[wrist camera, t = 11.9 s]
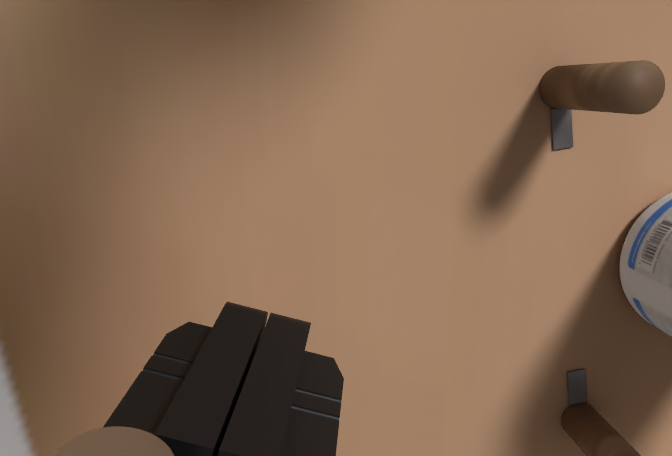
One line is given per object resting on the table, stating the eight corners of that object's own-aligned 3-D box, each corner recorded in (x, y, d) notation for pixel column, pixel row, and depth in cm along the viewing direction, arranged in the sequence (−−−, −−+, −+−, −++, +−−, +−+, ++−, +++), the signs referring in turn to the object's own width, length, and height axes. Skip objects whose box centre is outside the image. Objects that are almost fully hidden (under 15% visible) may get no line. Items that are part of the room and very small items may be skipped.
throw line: (538, 69, 35) (614, 64, 27) (577, 63, 35) (664, 56, 27) (562, 437, 41) (630, 519, 33) (596, 430, 41) (671, 511, 33)
